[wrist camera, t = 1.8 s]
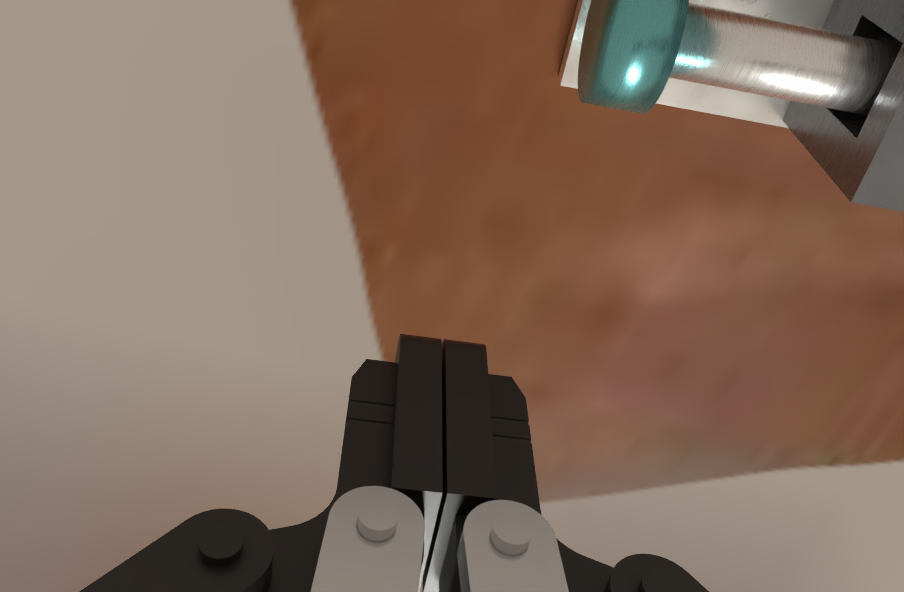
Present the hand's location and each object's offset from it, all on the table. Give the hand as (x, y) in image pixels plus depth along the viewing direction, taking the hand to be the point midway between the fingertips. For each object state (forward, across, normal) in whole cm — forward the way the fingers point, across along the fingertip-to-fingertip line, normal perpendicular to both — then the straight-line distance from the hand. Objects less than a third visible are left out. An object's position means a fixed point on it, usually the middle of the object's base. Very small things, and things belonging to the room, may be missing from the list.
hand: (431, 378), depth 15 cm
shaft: (+18, -12, -2) cm, 22 cm away
